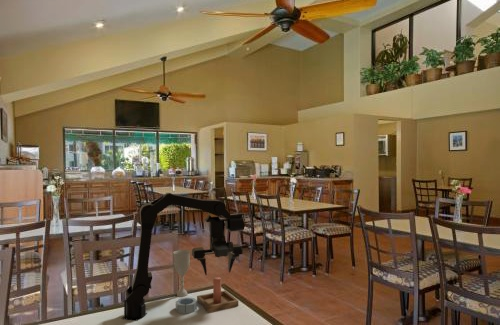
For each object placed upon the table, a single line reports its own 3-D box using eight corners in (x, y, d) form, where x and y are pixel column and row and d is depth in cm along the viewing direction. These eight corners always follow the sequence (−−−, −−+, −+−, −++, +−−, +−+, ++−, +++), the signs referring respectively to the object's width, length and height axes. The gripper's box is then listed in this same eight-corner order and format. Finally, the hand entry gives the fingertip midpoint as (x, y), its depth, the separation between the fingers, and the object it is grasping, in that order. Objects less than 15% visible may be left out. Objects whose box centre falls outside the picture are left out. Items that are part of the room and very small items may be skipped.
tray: (208, 314, 121) (208, 307, 121) (197, 302, 132) (197, 295, 132) (238, 307, 127) (238, 300, 127) (225, 296, 138) (225, 290, 138)
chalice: (193, 293, 141) (193, 250, 141) (188, 299, 134) (188, 254, 134) (176, 292, 142) (175, 249, 142) (170, 299, 135) (170, 254, 135)
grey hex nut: (172, 313, 122) (172, 304, 122) (182, 305, 129) (182, 296, 129) (190, 316, 120) (190, 306, 120) (199, 307, 127) (199, 298, 127)
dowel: (212, 303, 128) (212, 279, 128) (215, 300, 131) (215, 277, 131) (219, 304, 127) (219, 280, 128) (222, 301, 130) (222, 277, 130)
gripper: (196, 239, 119) (196, 283, 119) (246, 235, 125) (247, 277, 125) (191, 233, 130) (192, 273, 129) (238, 229, 136) (238, 268, 135)
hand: (217, 273), depth 130 cm, fingers open, 9 cm apart
